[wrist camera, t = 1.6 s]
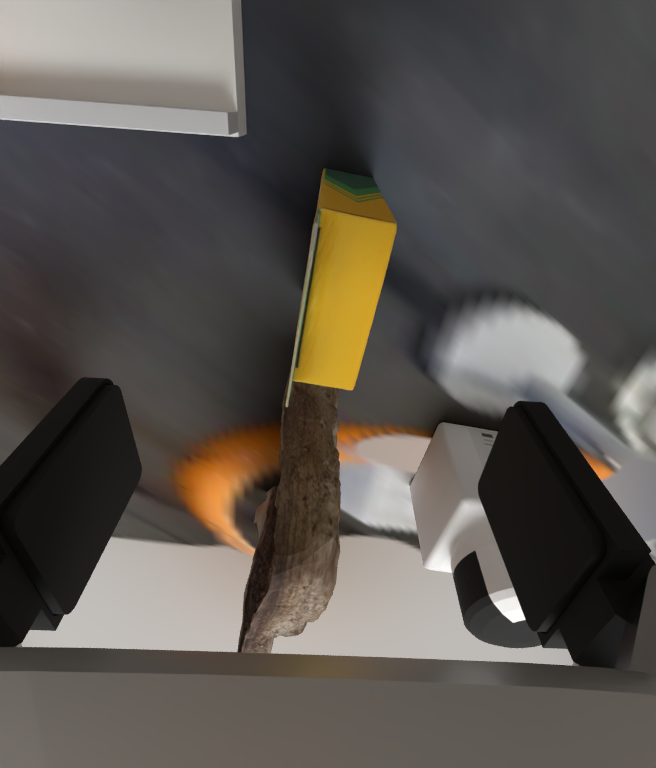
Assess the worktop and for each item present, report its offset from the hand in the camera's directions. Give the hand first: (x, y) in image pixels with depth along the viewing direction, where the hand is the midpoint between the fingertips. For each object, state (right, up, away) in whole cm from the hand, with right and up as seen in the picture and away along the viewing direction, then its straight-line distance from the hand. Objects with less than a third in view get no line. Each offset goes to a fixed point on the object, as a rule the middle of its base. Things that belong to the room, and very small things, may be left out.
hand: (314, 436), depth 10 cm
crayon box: (+1, +10, +14) cm, 17 cm away
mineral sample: (-2, -2, +22) cm, 23 cm away
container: (+12, -5, +24) cm, 27 cm away
